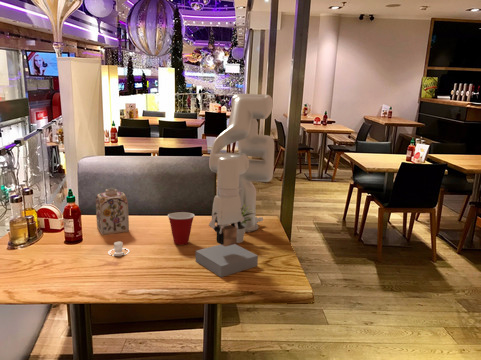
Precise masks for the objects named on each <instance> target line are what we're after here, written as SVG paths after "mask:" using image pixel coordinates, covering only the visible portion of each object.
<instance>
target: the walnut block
mask: <svg viewBox="0 0 481 360" xmlns="http://www.w3.org/2000/svg"><path fill="white" fill-rule="evenodd" d="M219 229H220V227H219ZM222 233H223V234H224V236H223V244H220V243H218V242H217V241H216V243H217V244H218V245H223V246H229V245H233V244H236V245H237V243H236V242H237V227H234V226H232V225H231V224H227V225H224V228H223V232H222Z"/></svg>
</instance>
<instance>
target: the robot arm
mask: <svg viewBox="0 0 481 360" xmlns="http://www.w3.org/2000/svg"><path fill="white" fill-rule="evenodd" d="M230 104H231V110H230V114H229V119H228V125H227V128H226V129H225V130H223V131H222V132H221V133H220V134H219V135H218V136H217V137H216V138H214V140H213V143H212V145H211V150H210V154H209V161H208V166H209V169H210V170H211V172H212V173H217V179H216V180H217V181H216V183H217V184H216V195H214V198H213V203H212V209H211V210H212V211H211V220H210V222H209V224H208V226H209V227H210V228H212V229H213V230H214V231H215V232H216V243H217V242H218V243H217V244H219V243H220V244H219V245H221V244H223V236H224V234H223V233H222V232H223V228H224V225H227V224H230V225H232V226H234V227H237V230H238V227H239V226H240V224H241V223H242V222H243V221H244V220H246V219H249V218H250V221H245V222H246V224H245V223H242V225H245V227H246V228H245V233H252V232H255V231H257V230H258V229H259V224H258V223H259V222H263V221H264V218H263V216H258V217H257V216H256V214H250V215H247V216H245V217H243V216H242V214H241V208H242V207H243V206H244V205H245V206H244V208H243V210H242V212H243V211H244V210H245V208H247V207H249V206H250V207H249V208H248V209H247V211H249V213H256V210H257V208H256V206H257V188H256V187H255V185H254V183H253V182H259V183H260V182H262V183H269V182H270V181H272V180H273V176H274V165H275V140H274V138H273V137H272V136H270V135H266V134H263V135H262V134H259V132H258V131H259V122H258V120H267V119H268V117H269V116H270V115H271V113H272V111H273V109H274V108H273V106H274V102H273V98H272V96H271V95H270V94H262V93H261V94H259V93H258V94H257V93H238V94H234V95H233V96H231V102H230ZM233 143H237V152H222V150H223V149H224V148H225V147H226V146H229V145H231V144H233ZM249 157H254V158H255V157H256V158H257V157H259V158H262V159H250V158H249ZM250 210H252V211H250ZM247 211H246V212H247ZM246 212H245V214H246ZM249 213H248V212H247V214H249ZM246 217H249V218H246ZM244 218H246V219H244ZM251 220H252V221H251ZM219 227H220V229H219Z"/></svg>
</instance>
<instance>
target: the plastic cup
mask: <svg viewBox="0 0 481 360" xmlns="http://www.w3.org/2000/svg"><path fill="white" fill-rule="evenodd" d="M195 216H196V215H195V214H194V213H191V212H185V211H181V212H179V211H178V212H172V213H168V214H167V217H168V220H169V225H170V229H171V236H172V238H173V239H172V240H173V243H174V245H177V246H183V245H188V244H189V241H190V235H191V231H192V224H193V221H194V218H195Z"/></svg>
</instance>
